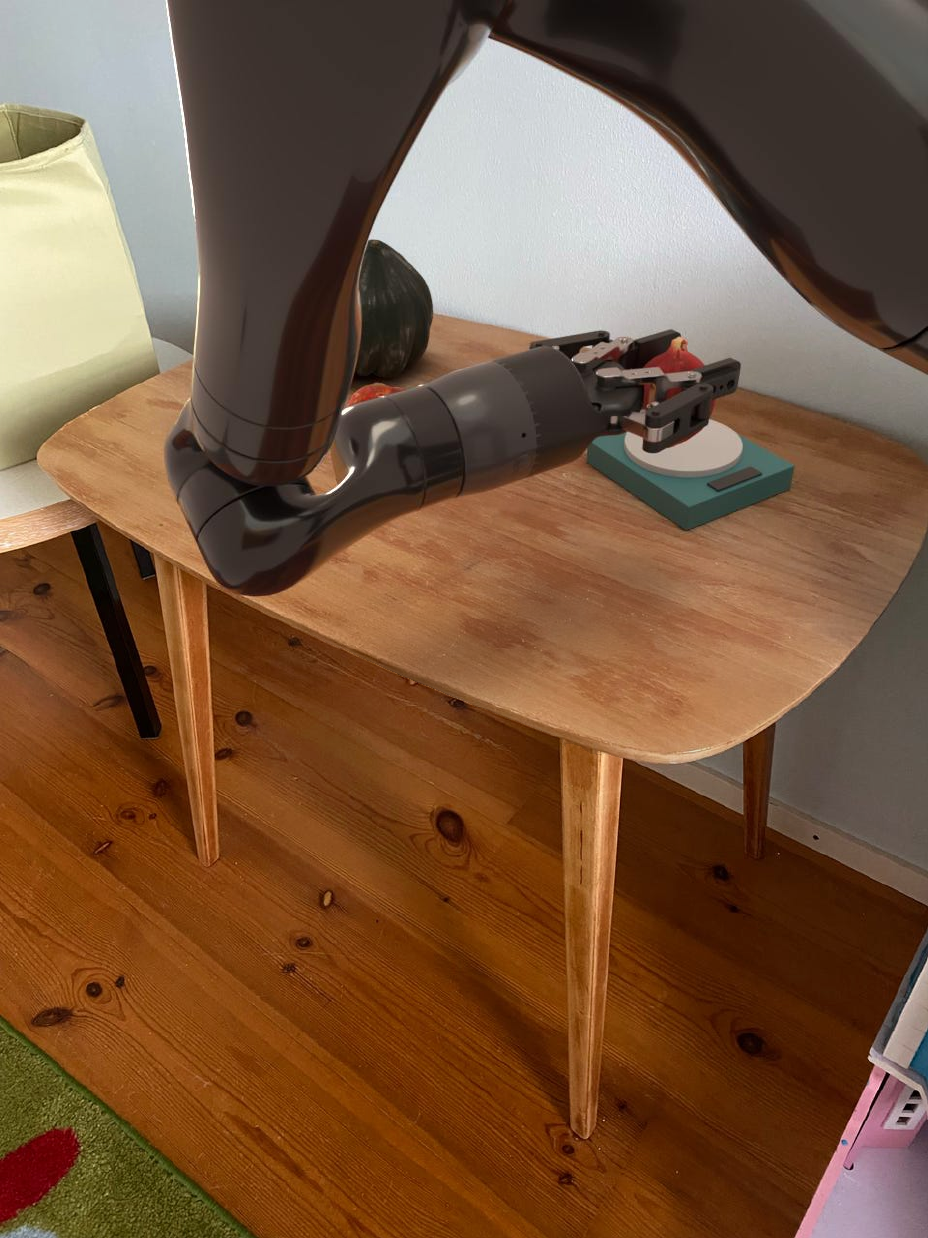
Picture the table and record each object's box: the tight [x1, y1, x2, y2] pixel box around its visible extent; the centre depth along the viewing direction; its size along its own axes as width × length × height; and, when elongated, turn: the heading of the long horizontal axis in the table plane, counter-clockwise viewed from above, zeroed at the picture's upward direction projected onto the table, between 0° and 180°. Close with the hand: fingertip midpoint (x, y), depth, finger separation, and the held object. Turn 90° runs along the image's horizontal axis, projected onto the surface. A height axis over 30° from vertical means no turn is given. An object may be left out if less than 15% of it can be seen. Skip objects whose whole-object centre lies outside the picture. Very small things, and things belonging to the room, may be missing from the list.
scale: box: [586, 418, 795, 531], centre depth 89 cm, size 14×12×3 cm
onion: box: [641, 336, 717, 448], centre depth 68 cm, size 6×6×8 cm
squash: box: [355, 238, 434, 379], centre depth 106 cm, size 14×15×15 cm
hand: (704, 358), depth 67 cm, fingers closed on onion, 5 cm apart
